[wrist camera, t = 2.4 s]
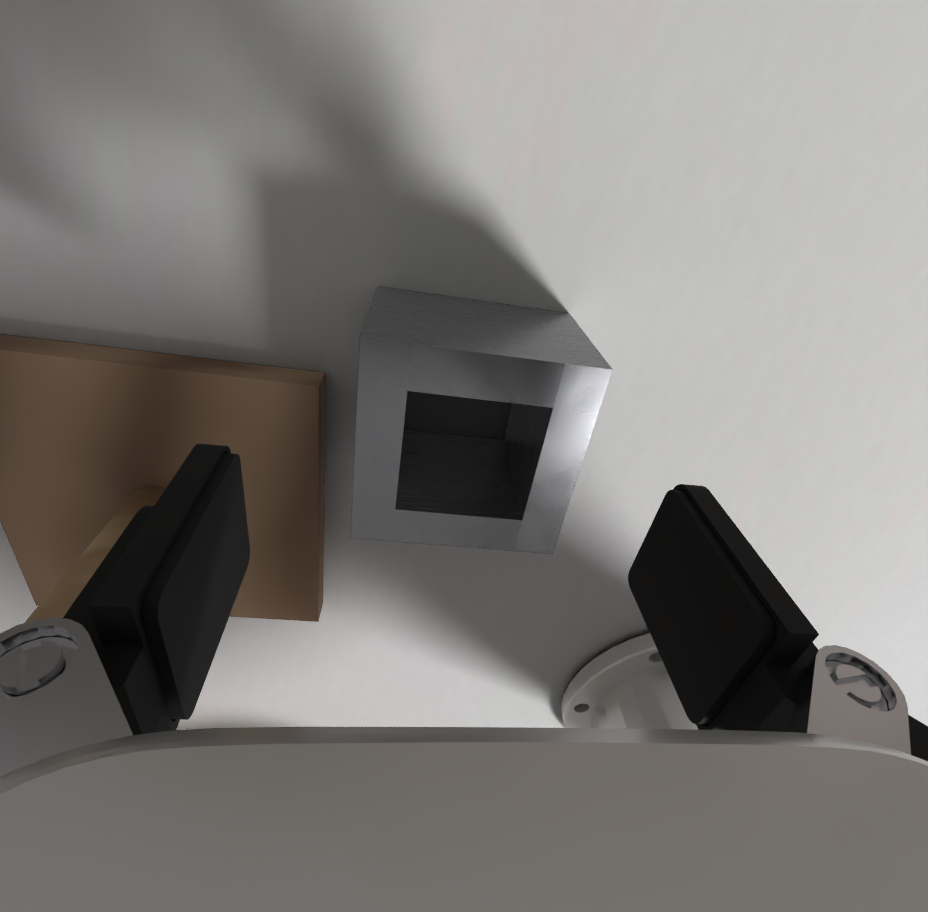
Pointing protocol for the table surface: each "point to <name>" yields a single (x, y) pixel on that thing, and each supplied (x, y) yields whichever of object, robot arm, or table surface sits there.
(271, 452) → the post base
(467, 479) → the collar
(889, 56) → the table surface
